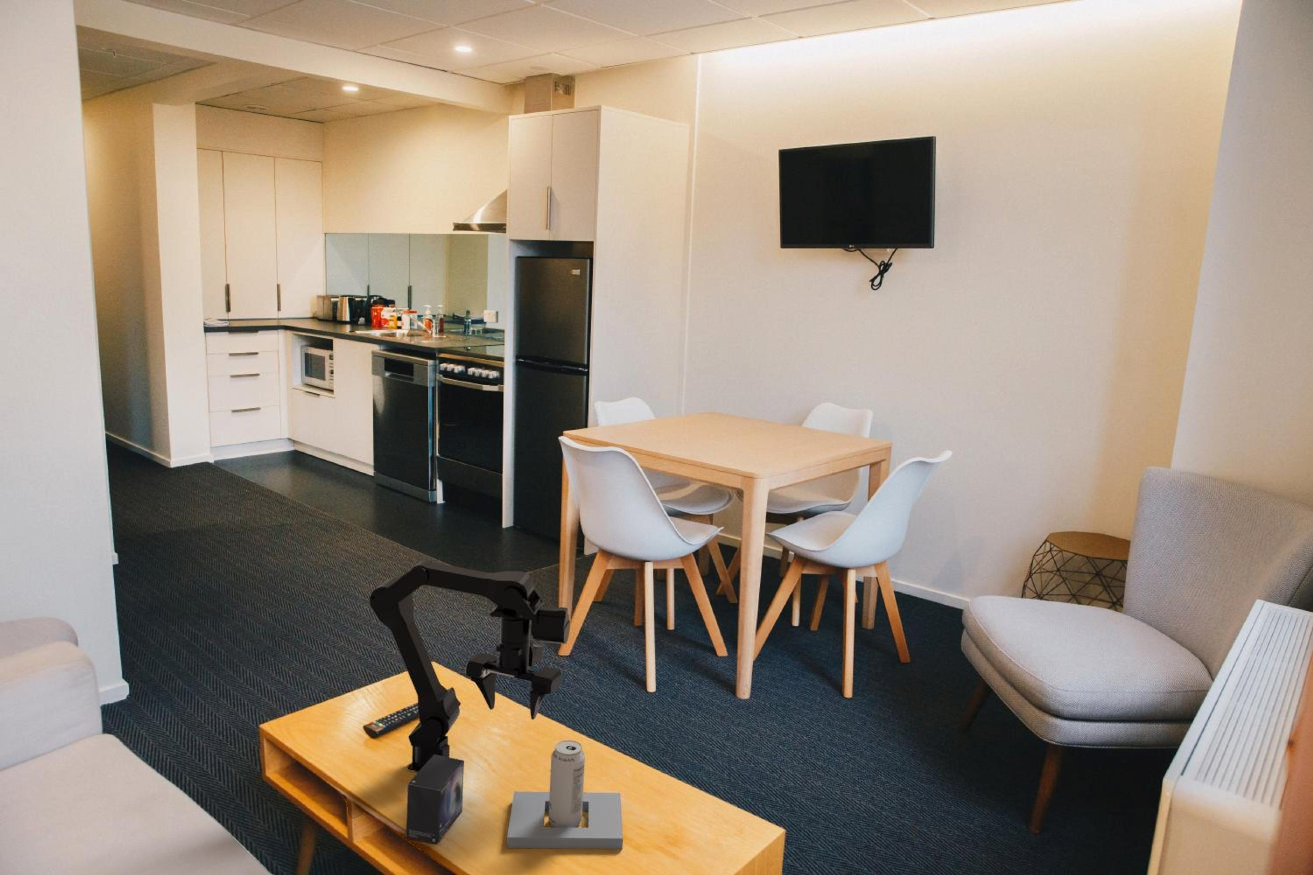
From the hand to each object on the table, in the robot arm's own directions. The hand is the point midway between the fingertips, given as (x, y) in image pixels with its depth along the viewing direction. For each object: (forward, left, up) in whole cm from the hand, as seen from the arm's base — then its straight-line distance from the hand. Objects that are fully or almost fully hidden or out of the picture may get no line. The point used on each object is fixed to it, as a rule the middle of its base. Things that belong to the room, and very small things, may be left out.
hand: (512, 713), depth 171 cm
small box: (-4, -20, -13) cm, 24 cm away
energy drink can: (+17, -10, -13) cm, 24 cm away
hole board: (+17, -10, -13) cm, 24 cm away
